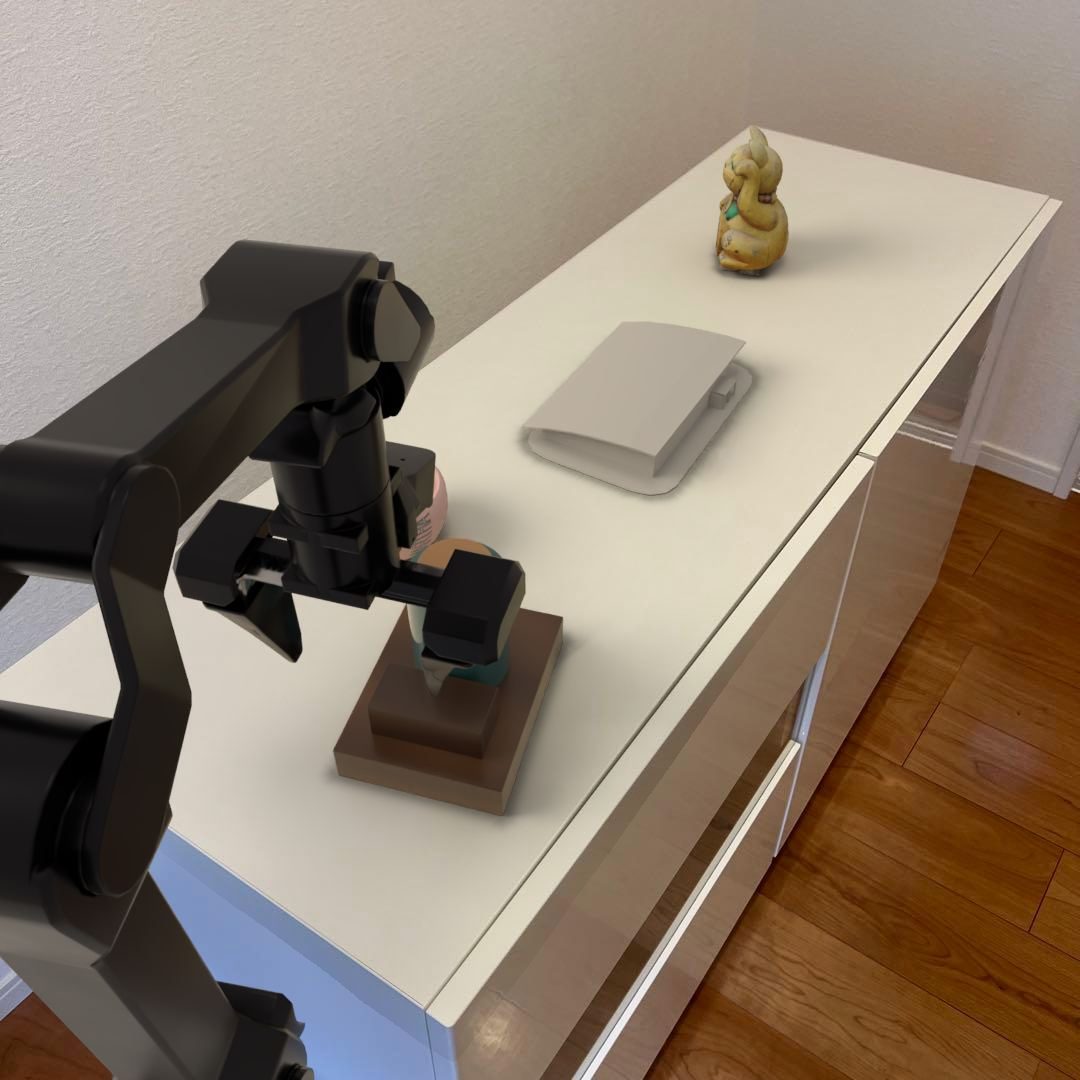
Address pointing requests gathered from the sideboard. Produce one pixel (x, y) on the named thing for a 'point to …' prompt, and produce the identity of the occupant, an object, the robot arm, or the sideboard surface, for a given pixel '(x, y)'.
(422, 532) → the mug
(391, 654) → the stand
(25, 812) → the robot arm
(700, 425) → the grey flat folded piece
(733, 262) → the decorative figurine
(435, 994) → the sideboard surface
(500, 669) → the jar
